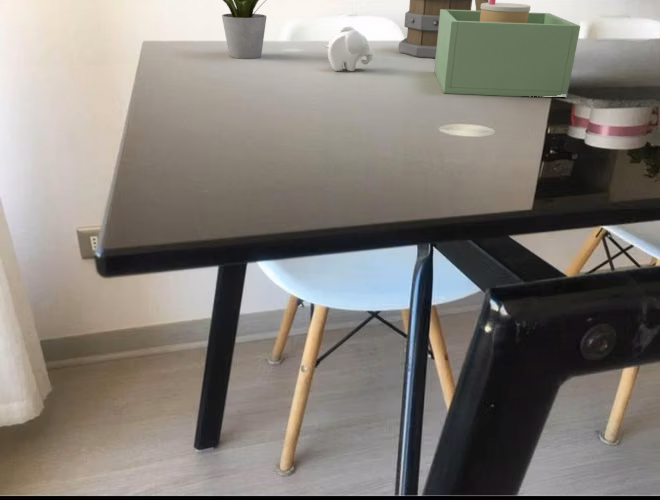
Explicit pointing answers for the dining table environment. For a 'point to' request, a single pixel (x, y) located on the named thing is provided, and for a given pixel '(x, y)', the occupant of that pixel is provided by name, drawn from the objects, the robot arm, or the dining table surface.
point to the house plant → (244, 29)
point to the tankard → (428, 24)
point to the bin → (504, 55)
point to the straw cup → (504, 12)
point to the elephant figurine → (347, 49)
